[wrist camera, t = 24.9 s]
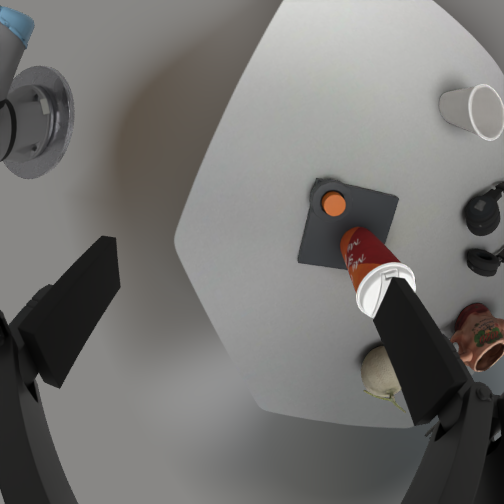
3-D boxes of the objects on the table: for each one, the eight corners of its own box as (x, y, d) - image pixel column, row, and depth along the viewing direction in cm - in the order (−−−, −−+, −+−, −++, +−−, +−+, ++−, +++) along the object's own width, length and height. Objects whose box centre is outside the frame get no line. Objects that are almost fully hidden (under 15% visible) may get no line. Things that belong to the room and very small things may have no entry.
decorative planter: (427, 348, 59) (448, 390, 47) (435, 311, 54) (463, 354, 41) (485, 326, 57) (509, 360, 44) (496, 289, 51) (526, 324, 39)
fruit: (359, 337, 57) (378, 393, 43) (404, 335, 57) (428, 385, 43) (347, 369, 62) (360, 421, 48) (389, 366, 62) (407, 414, 48)
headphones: (484, 212, 35) (534, 177, 33) (456, 199, 41) (509, 168, 40) (482, 291, 42) (532, 248, 40) (460, 274, 48) (511, 236, 47)
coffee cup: (329, 226, 44) (357, 278, 31) (377, 214, 43) (420, 261, 30) (336, 270, 48) (360, 331, 35) (381, 259, 47) (417, 314, 33)
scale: (294, 259, 48) (296, 268, 46) (313, 173, 42) (317, 178, 39) (371, 270, 49) (377, 279, 46) (397, 193, 42) (404, 198, 40)
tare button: (319, 210, 42) (321, 214, 40) (324, 189, 40) (326, 192, 39) (339, 213, 42) (342, 218, 40) (344, 193, 40) (348, 197, 39)
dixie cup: (473, 103, 34) (511, 109, 25) (458, 140, 37) (494, 152, 28) (442, 74, 32) (479, 72, 23) (425, 112, 36) (462, 117, 27)
